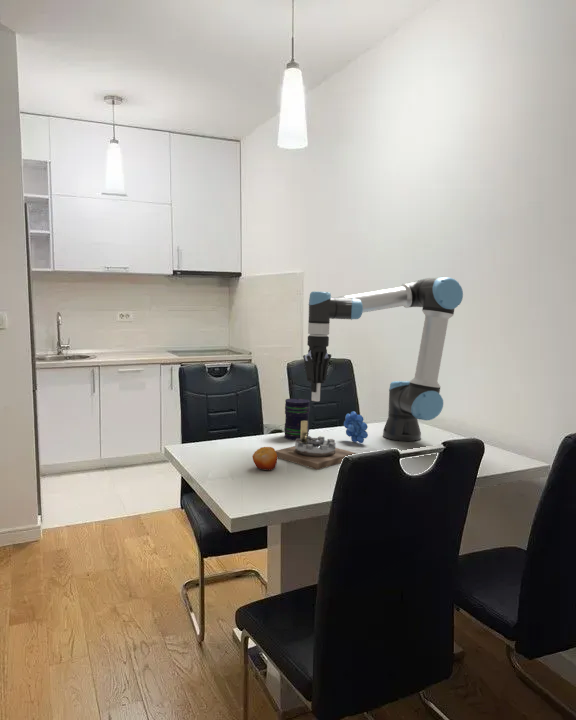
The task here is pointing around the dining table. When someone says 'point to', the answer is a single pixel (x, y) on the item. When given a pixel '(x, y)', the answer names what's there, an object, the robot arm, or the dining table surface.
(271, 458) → the fruit
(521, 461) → the dining table surface
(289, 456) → the base plate
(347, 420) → the grapes
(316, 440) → the crank wheel
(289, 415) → the storage jar
